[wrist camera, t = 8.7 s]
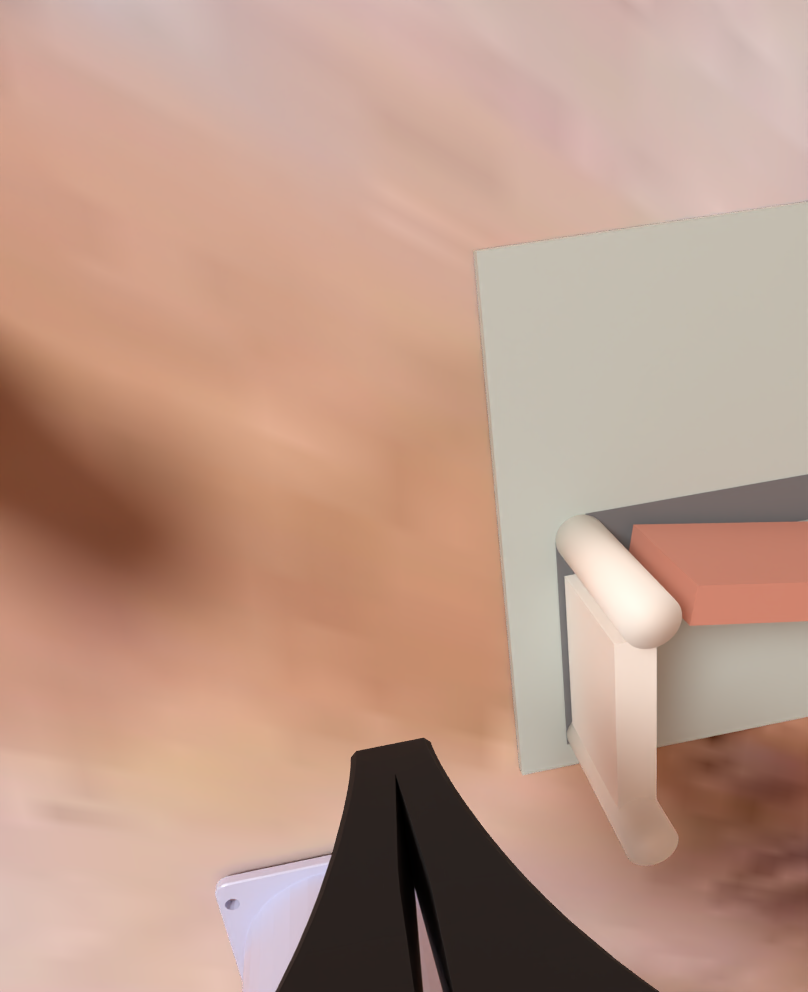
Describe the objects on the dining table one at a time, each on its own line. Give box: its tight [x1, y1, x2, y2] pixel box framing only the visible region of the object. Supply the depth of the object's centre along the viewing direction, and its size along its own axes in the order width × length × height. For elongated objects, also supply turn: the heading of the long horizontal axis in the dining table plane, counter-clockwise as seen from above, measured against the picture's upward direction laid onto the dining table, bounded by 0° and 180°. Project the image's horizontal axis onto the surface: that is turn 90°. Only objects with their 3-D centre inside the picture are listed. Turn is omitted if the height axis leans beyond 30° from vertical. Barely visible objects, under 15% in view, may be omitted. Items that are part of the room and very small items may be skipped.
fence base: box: [555, 514, 682, 866], centre depth 23 cm, size 9×2×6 cm, turn 7°
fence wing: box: [629, 521, 808, 626], centre depth 22 cm, size 8×2×5 cm, turn 88°
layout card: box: [473, 201, 808, 775], centre depth 24 cm, size 18×15×1 cm
